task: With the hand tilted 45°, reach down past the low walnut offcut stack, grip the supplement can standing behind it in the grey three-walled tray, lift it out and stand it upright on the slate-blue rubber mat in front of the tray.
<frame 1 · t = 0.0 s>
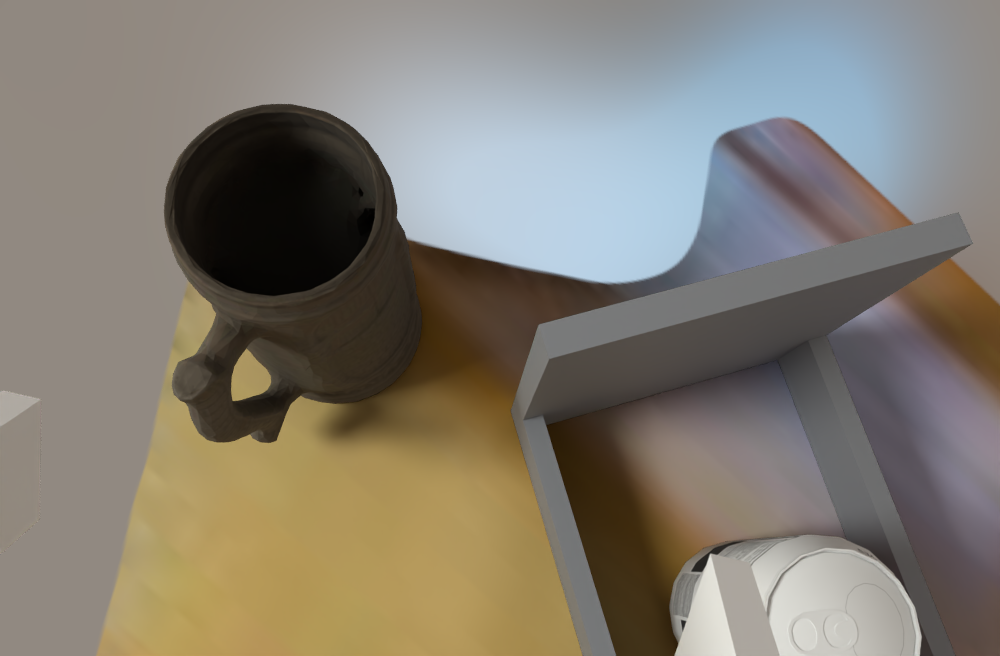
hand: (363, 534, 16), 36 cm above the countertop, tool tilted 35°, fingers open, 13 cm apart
beer stein: (328, 358, 54), on the countertop
grey three-walled tray: (718, 566, 51), on the countertop
supplement can: (732, 611, 51), on the countertop
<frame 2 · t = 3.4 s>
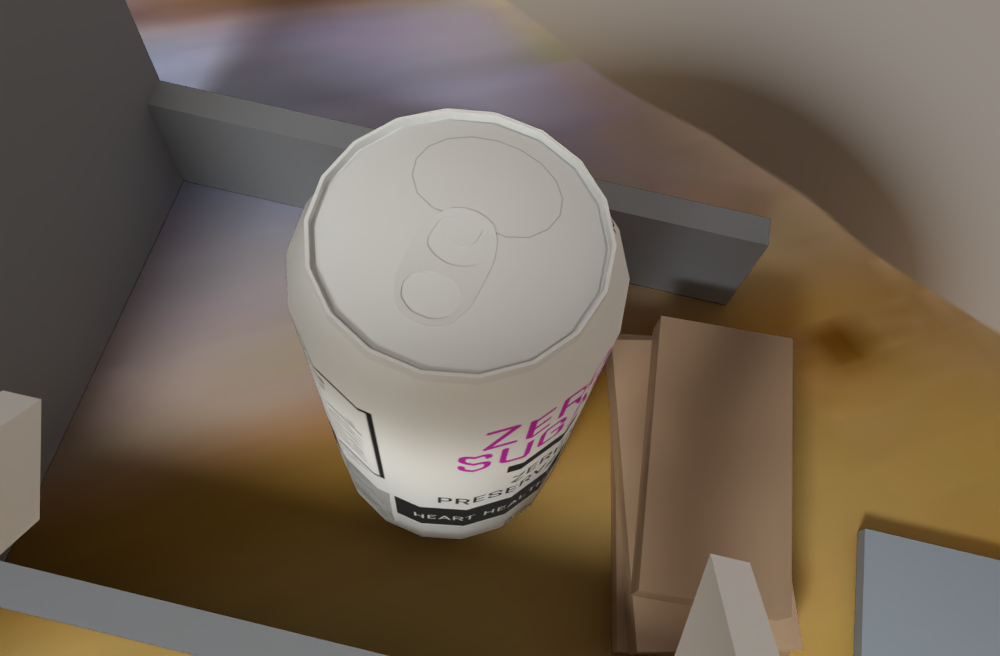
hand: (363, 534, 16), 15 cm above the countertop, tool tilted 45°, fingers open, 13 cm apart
walnut offcut stack: (685, 492, 32), on the countertop
grey three-walled tray: (381, 418, 32), on the countertop
supplement can: (449, 437, 32), on the countertop
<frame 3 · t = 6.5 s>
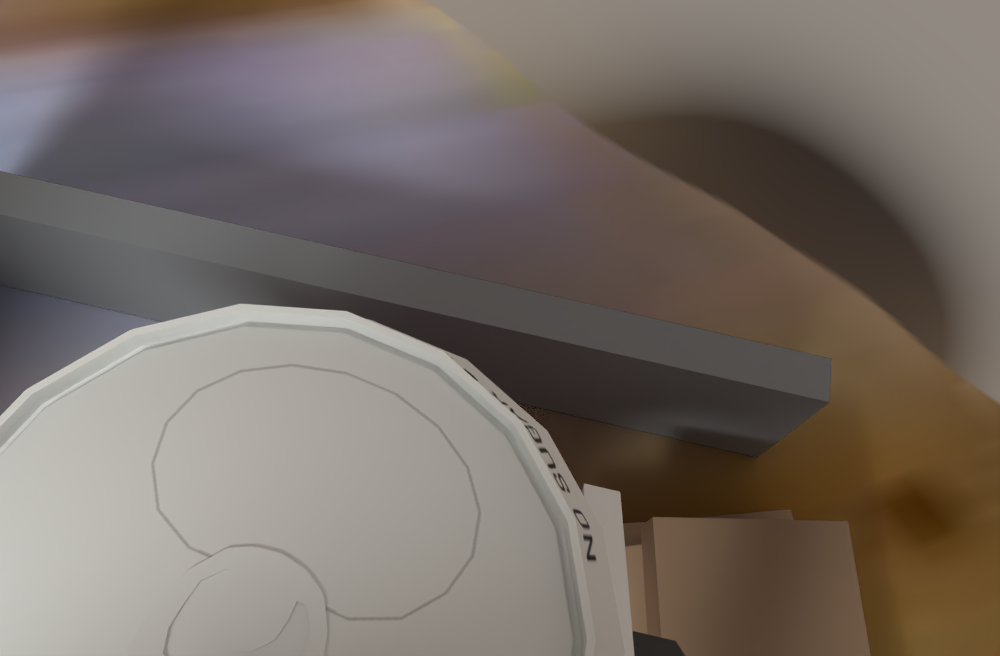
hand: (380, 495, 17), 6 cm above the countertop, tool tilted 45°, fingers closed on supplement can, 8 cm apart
grey three-walled tray: (256, 652, 22), on the countertop
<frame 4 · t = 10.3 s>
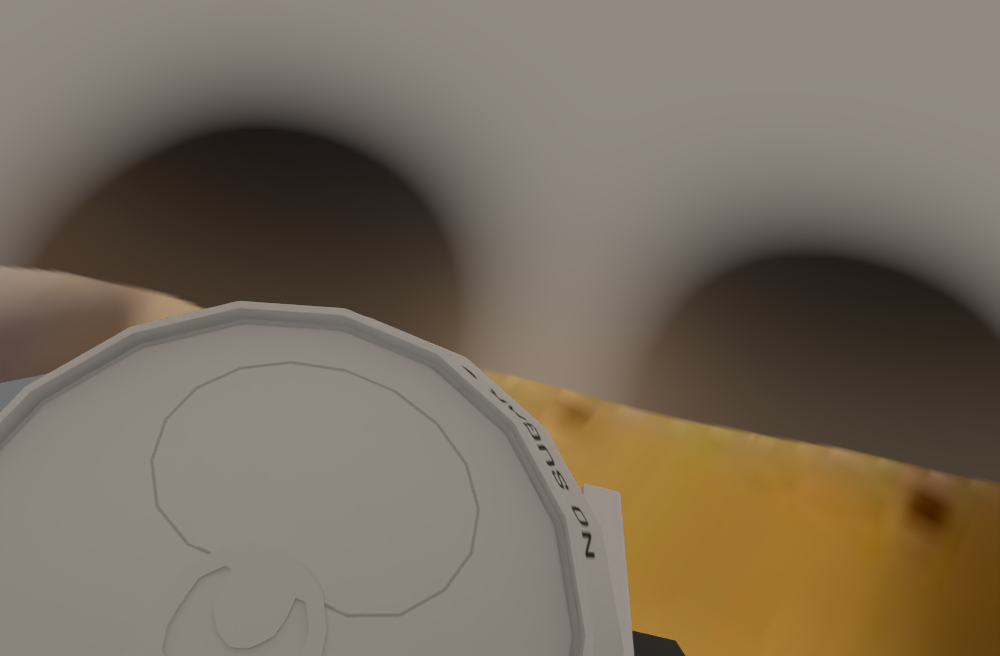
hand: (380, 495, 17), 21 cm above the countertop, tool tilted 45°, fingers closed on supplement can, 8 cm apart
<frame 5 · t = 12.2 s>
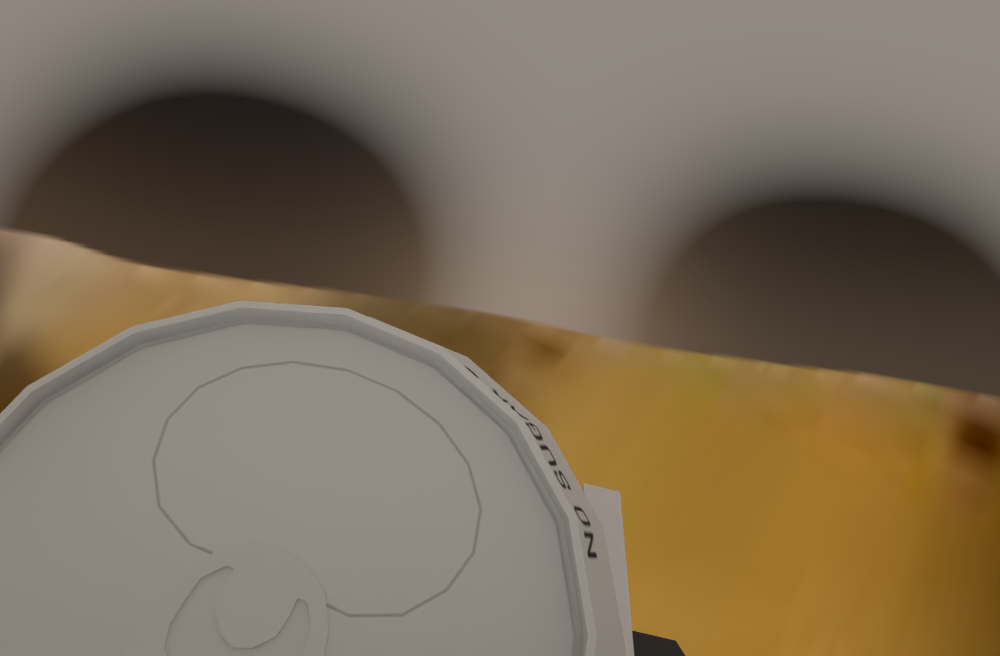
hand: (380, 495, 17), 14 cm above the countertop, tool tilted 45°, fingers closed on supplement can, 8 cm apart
when the fingers open (8 cm above the countertop, at t = 14.0 s): supplement can drops 1 cm, resting on slate mat.
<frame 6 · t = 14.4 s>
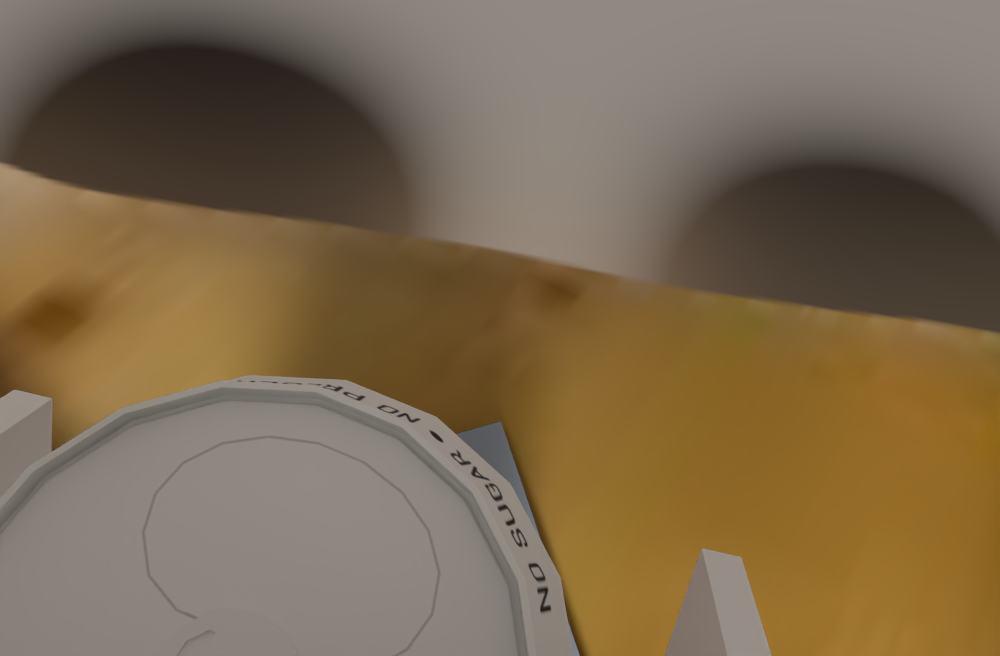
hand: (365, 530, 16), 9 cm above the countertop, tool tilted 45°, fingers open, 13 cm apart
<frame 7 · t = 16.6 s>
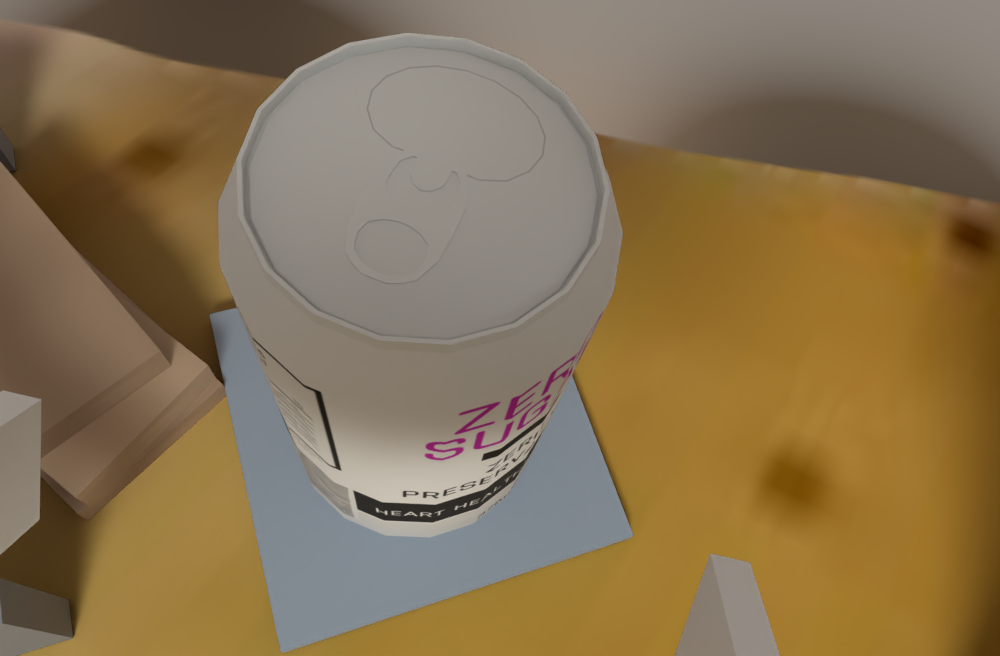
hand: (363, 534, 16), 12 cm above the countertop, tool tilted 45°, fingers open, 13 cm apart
walnut offcut stack: (51, 348, 30), on the countertop
slate mat: (414, 426, 30), on the countertop
supplement can: (415, 425, 29), resting on slate mat
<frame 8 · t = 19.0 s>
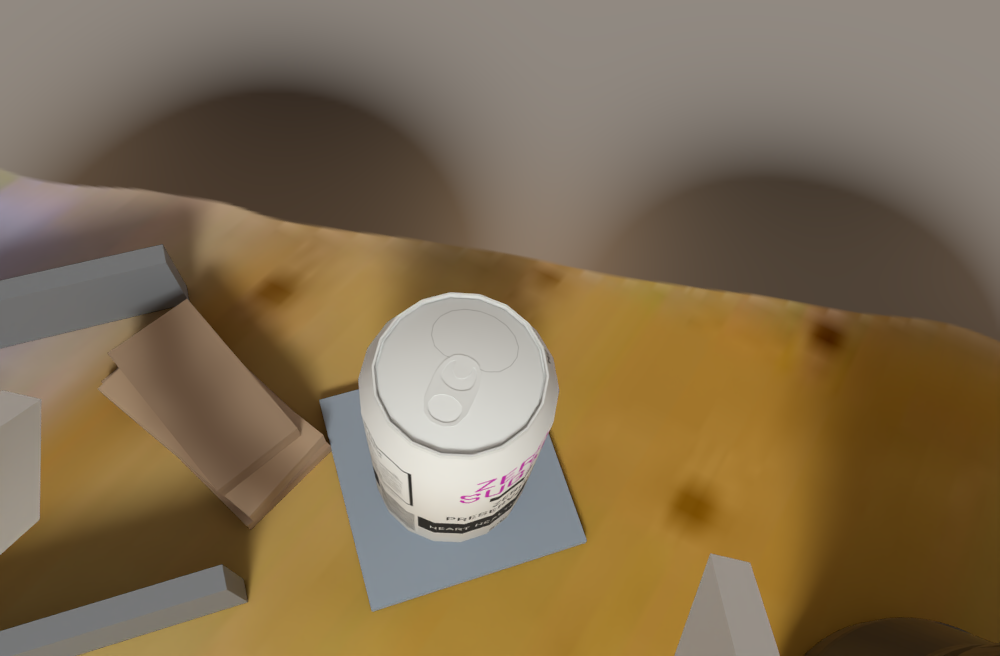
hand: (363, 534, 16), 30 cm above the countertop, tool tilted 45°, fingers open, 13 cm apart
walnut offcut stack: (220, 420, 47), on the countertop
slate mat: (449, 471, 47), on the countertop
supplement can: (450, 471, 46), resting on slate mat
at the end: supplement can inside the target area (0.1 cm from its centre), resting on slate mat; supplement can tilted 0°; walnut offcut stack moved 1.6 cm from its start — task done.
